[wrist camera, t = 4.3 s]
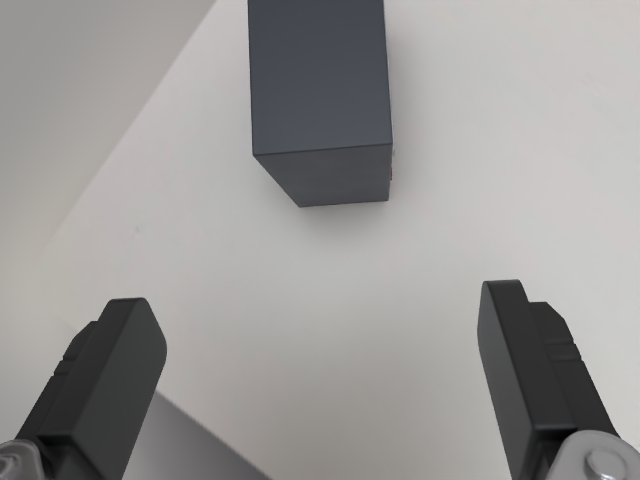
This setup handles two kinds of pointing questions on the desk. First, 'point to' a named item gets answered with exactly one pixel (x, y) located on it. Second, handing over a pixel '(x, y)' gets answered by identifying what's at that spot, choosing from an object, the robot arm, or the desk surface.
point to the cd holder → (322, 98)
